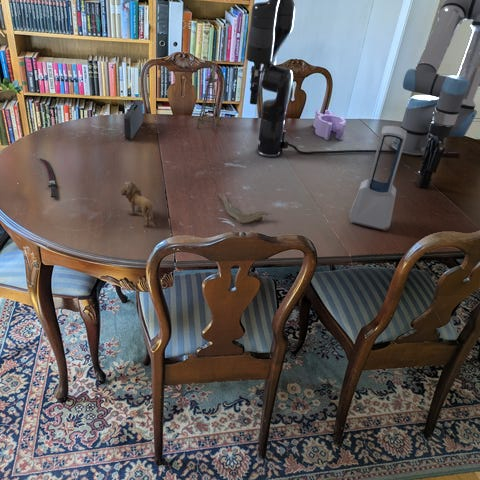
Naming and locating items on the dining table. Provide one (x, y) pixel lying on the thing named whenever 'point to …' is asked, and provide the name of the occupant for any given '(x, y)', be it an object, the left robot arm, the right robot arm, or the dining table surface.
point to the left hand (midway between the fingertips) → (254, 100)
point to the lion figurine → (137, 201)
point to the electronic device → (378, 189)
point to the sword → (52, 181)
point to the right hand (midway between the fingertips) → (422, 184)
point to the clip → (329, 124)
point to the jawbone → (239, 215)
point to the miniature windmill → (210, 80)
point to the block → (419, 179)
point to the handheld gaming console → (133, 119)
